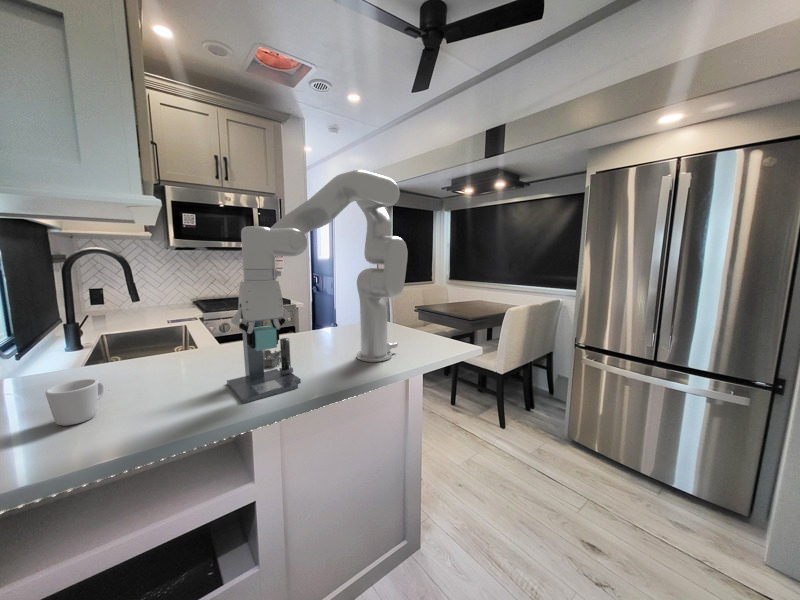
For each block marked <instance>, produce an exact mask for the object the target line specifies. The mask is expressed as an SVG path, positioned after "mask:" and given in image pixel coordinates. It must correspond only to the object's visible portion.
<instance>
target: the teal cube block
mask: <svg viewBox="0 0 800 600" xmlns="http://www.w3.org/2000/svg"><path fill="white" fill-rule="evenodd" d="M253 333H254V334H255V348H254V349H255V350H256V351H260V350H271V349H277V348H278V344H277V336H276V328H273V327H272V325H266V326H265V325H264V326H261V327H255V328H253Z"/></svg>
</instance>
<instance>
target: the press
mask: <svg viewBox="0 0 800 600" xmlns="http://www.w3.org/2000/svg"><path fill="white" fill-rule="evenodd" d="M241 322H242V323H243V324H245V325H246V321H245V320H243V319H241ZM255 327H262V321H255V324H254V328H255ZM241 333H242V343H243V344H242V345H243V346H242V347H243V359H244V372H245V373H244V374H245V375H244V376H240V377H237V378H232V379H227V380H226V385H227V386H228V387H229V388H230V389H231V391H232V392H233V393H234V395H235V396H236V397H237V398H238V399H239V401H240V402H241V403H242V404H246V403H250V402H253V401H256V400H261V399H264V398H267V397H271V396H274V395H278V394H282V393H285V392H288V391H291V390H296V389H299V384H301V382H302V380H301V378H299V377H298V376H297V375H295V374H294V373H293V372H292V373H288V374H284V375H283V374H282V373H280V370H279V369H277V368H276V369H275V368H274V369H271V370H266V371H265V369H264V365H263V350H260V351H256V350H255V349H252V348H251V347H250V346H249V345H247V334H246V331H244V330H243V329H242V331H241ZM296 383H297V384H296Z"/></svg>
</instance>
